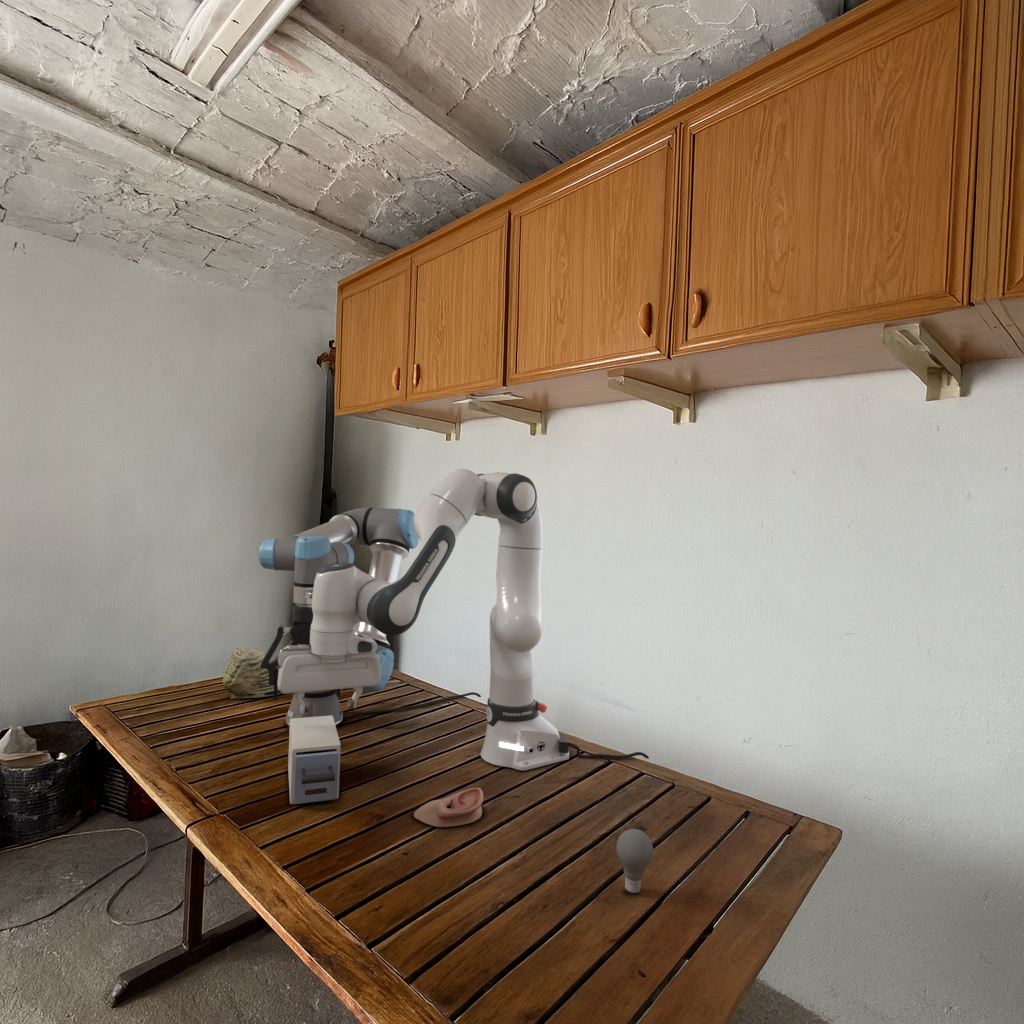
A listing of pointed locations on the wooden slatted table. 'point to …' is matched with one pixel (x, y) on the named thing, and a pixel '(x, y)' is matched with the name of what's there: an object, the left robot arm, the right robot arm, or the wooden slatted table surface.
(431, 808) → the anatomical model
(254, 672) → the fossil
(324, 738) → the cabinet
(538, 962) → the wooden slatted table surface
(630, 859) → the light bulb
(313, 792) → the drawer
